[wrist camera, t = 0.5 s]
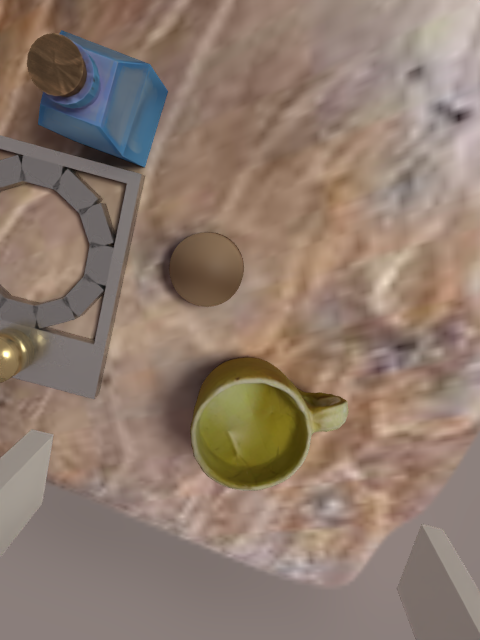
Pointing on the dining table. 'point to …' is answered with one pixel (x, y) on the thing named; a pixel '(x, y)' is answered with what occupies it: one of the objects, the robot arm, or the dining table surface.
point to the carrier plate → (100, 276)
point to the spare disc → (206, 269)
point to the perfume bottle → (97, 95)
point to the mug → (257, 424)
